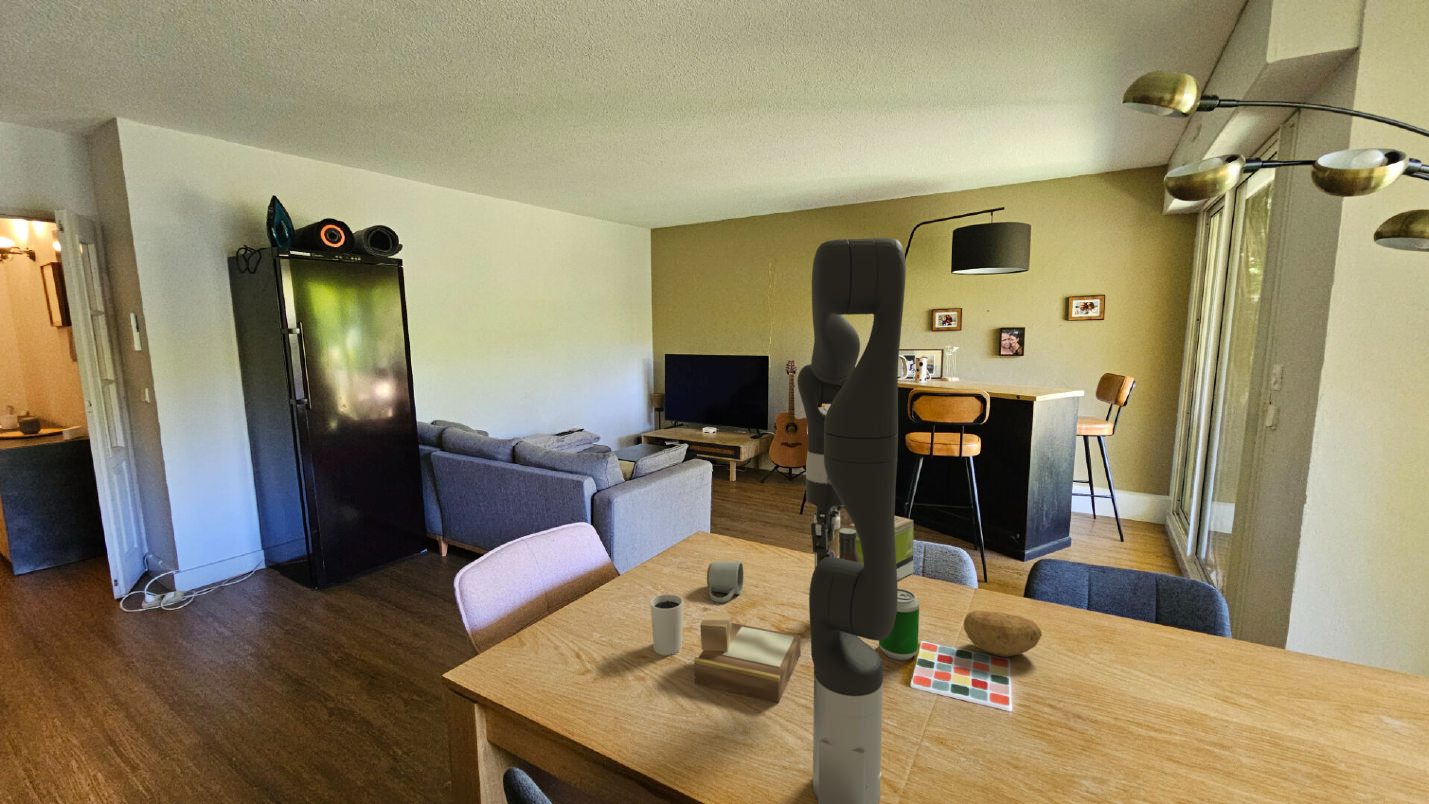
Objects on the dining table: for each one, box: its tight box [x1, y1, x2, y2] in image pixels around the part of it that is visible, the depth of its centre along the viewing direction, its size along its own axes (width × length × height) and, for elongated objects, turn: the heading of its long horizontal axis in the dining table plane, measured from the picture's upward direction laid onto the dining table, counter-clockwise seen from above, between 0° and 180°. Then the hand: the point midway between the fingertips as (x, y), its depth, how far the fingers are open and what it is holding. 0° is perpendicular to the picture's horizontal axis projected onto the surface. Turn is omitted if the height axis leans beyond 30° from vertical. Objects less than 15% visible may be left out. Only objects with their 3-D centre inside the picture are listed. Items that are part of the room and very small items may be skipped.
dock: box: [693, 622, 802, 704], centre depth 110 cm, size 16×16×5 cm
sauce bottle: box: [839, 527, 860, 563], centre depth 128 cm, size 7×6×20 cm
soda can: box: [878, 588, 920, 661], centre depth 114 cm, size 8×8×12 cm
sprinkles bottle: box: [814, 516, 841, 569], centre depth 104 cm, size 5×5×14 cm
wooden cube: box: [699, 612, 733, 652], centre depth 111 cm, size 5×5×5 cm
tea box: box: [849, 515, 914, 581], centre depth 150 cm, size 15×10×15 cm, turn 130°
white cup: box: [649, 593, 684, 656], centre depth 117 cm, size 7×7×10 cm
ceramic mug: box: [706, 561, 745, 604], centre depth 141 cm, size 11×8×8 cm
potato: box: [963, 609, 1043, 658], centre depth 114 cm, size 10×14×8 cm
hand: (826, 566), depth 104 cm, fingers closed on sprinkles bottle, 4 cm apart
